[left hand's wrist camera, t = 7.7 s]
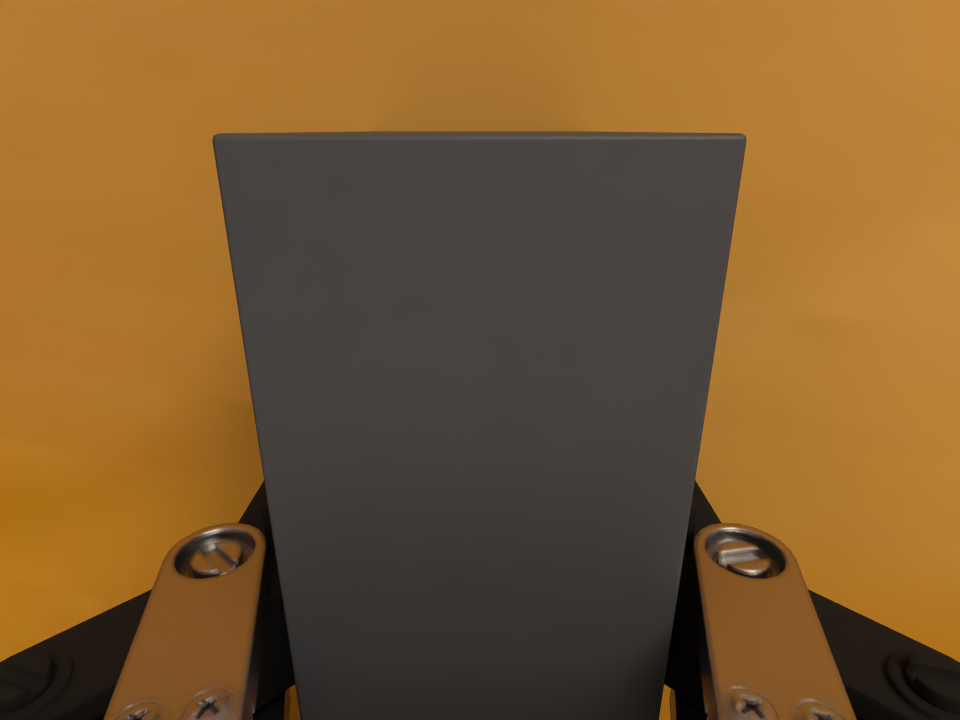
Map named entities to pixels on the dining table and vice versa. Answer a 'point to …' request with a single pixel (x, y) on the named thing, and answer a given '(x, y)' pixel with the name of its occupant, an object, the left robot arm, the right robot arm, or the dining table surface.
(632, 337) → the beam
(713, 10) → the dining table surface
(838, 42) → the dining table surface
